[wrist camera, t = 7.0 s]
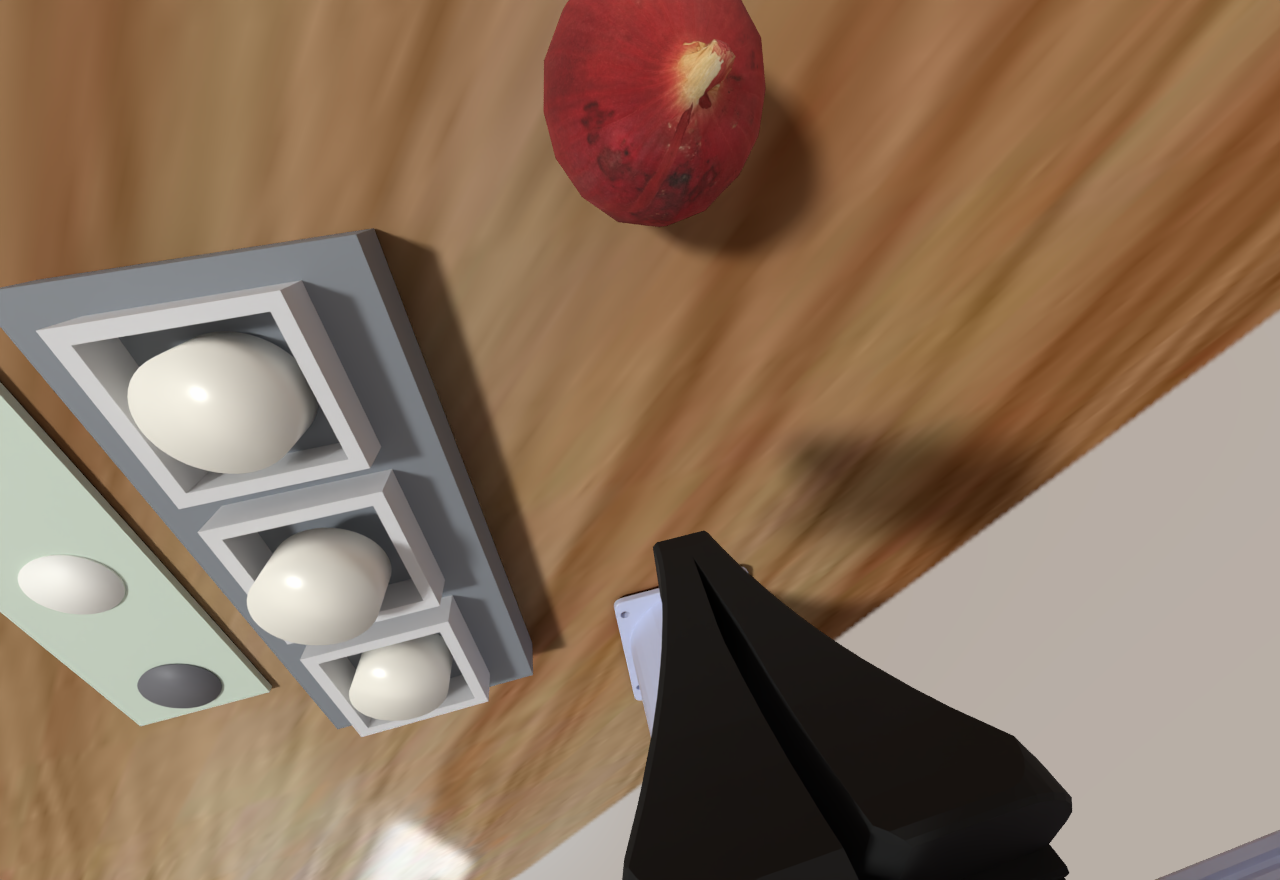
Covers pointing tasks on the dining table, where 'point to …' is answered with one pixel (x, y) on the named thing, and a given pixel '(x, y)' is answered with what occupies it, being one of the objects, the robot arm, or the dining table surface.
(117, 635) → the card
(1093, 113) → the dining table surface
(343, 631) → the button middle
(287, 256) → the button board
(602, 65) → the onion
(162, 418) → the button near
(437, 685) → the button far
